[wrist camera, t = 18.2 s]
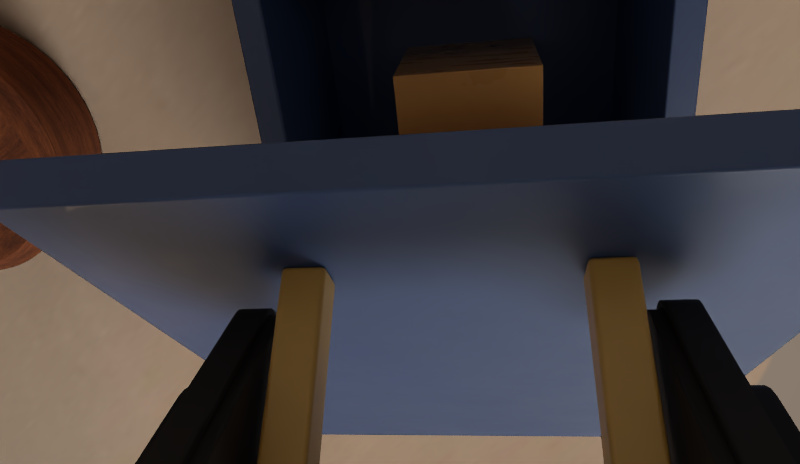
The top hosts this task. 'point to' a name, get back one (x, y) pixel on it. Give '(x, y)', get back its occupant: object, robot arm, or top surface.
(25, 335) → the top surface
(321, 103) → the case
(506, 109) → the block
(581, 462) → the top surface
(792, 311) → the lid
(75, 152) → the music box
